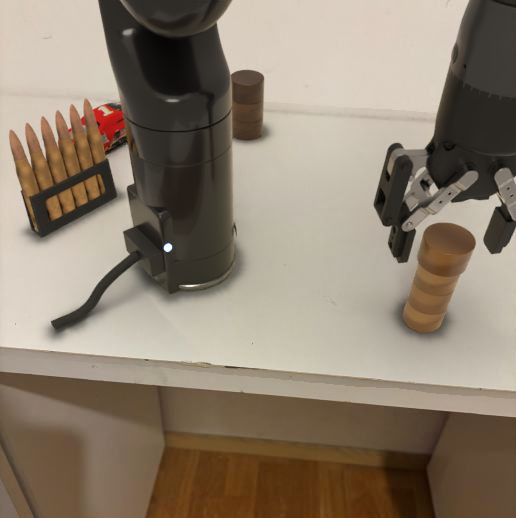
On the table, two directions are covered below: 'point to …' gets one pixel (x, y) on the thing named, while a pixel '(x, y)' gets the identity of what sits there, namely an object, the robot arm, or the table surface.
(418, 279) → the oak chip base pile
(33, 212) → the ammunition clip
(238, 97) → the walnut chip pile
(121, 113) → the race car
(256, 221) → the table surface
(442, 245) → the oak chip
